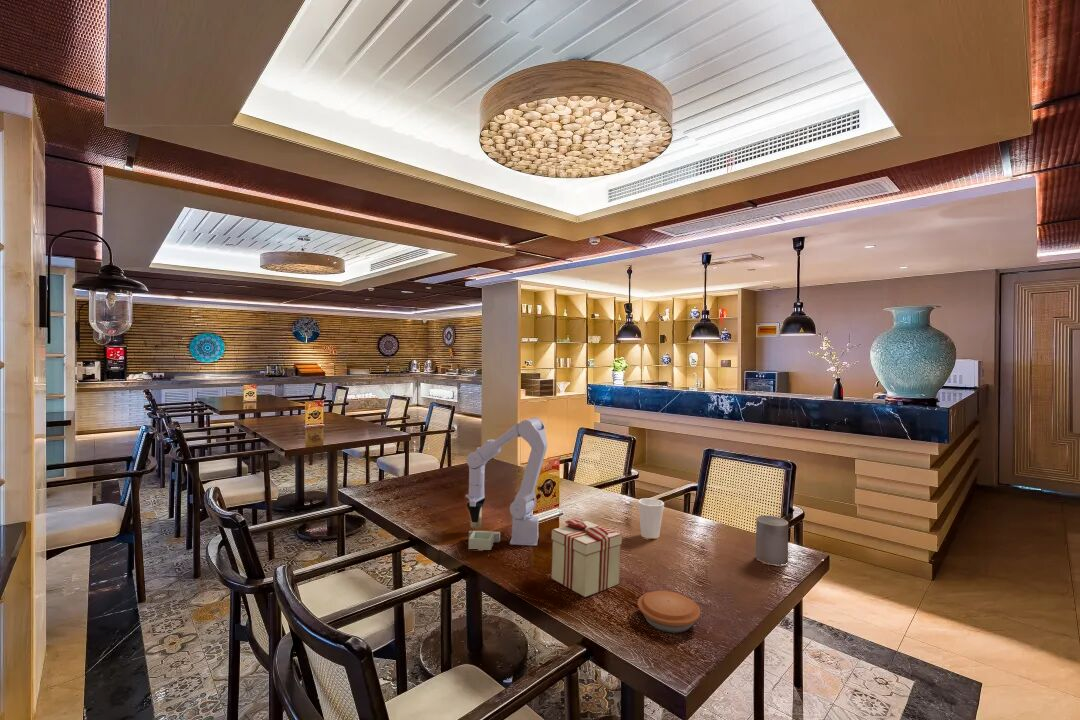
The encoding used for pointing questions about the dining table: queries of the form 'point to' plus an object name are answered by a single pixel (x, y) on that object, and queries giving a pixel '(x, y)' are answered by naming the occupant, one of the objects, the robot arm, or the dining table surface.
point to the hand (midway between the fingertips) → (476, 520)
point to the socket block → (481, 540)
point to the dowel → (478, 524)
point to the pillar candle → (772, 539)
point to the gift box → (585, 556)
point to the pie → (668, 610)
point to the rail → (496, 535)
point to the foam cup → (650, 516)
